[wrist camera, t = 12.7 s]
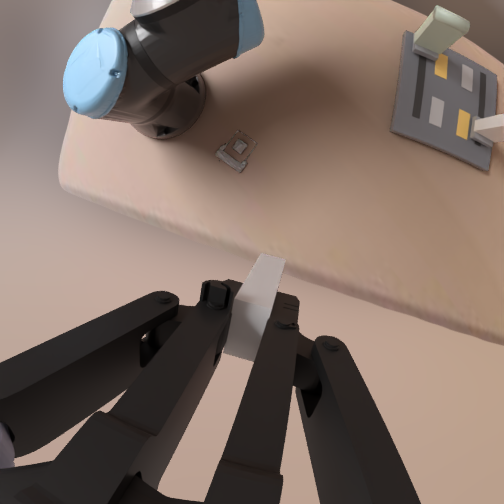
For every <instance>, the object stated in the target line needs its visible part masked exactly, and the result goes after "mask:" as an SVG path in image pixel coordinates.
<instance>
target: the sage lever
mask: <svg viewBox="0 0 504 504" xmlns="http://www.w3.org/2000/svg"><path fill="white" fill-rule="evenodd" d="M469 28H470V23H469V21H468V20H466V19H464V18H462V17H460V16H458V15H456V14H454V13H452V12H450V11H448V10H446V9H444V8H442V7H440V6H437V5H436V6H435V8H434V10H433V11H432V13H431V14H430V15H429V16H428V18H427V19H426V20H425V21H424V23H423V24H422V25H421V27H420V28H419V29H418V30H417V31H416V32H415V33H414V34H413V48H412V52H414V53H416V54H419V55H421V56H424V57H426V58H429V59H431V60H433V61H436V60H437V59H438V58H439V54H442V53H443V52H444V51H445V50H446V49H447V48H449V47H450V46H451V45H452V44H453V43H455V42H456V41H457V40H458V39H459V38H461V37H462V36H463V35H464V34H467V33H468V31H469Z"/></svg>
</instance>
